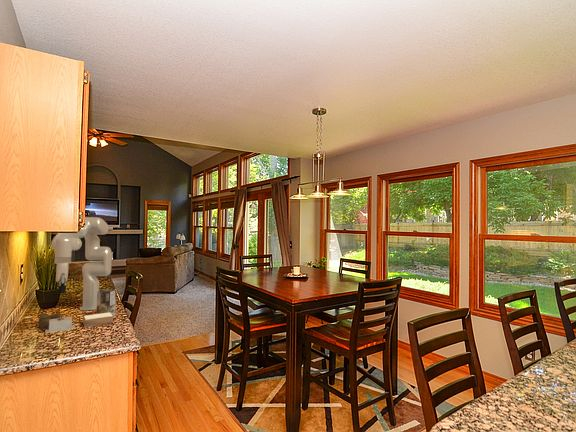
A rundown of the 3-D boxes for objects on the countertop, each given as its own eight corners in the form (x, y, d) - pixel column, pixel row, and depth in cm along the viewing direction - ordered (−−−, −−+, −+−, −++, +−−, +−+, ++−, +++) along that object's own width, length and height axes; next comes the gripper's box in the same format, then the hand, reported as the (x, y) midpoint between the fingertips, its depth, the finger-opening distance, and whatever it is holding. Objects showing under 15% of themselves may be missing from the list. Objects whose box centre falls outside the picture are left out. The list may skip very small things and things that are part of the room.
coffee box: (116, 315, 206) (116, 289, 206) (109, 317, 199) (110, 291, 200) (102, 314, 206) (103, 289, 207) (95, 317, 200) (96, 291, 201)
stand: (83, 323, 187) (83, 315, 187) (110, 319, 195) (110, 312, 196) (84, 327, 180) (84, 319, 180) (112, 323, 188) (112, 315, 188)
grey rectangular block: (32, 331, 174) (42, 320, 192) (54, 329, 178) (61, 319, 196) (33, 320, 174) (43, 310, 192) (55, 318, 178) (62, 309, 197)
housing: (45, 330, 174) (45, 319, 174) (74, 326, 182) (74, 315, 182) (45, 333, 169) (45, 322, 170) (75, 328, 177) (75, 318, 177)
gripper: (54, 259, 182) (53, 290, 181) (55, 262, 168) (53, 295, 167) (70, 258, 187) (69, 288, 186) (72, 261, 173) (70, 293, 172)
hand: (61, 291), depth 177 cm, fingers open, 9 cm apart
